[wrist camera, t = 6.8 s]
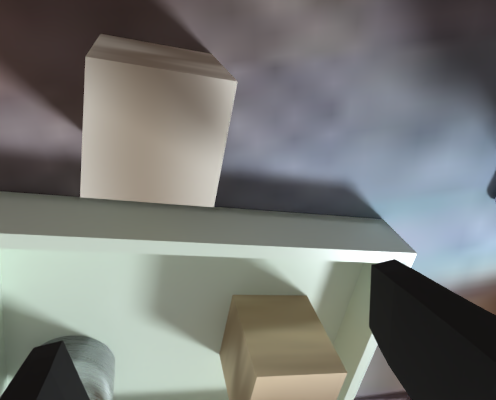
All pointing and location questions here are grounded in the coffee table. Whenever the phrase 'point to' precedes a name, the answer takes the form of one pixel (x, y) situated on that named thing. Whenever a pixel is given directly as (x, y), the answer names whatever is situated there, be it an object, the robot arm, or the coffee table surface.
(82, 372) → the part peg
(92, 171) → the part birch
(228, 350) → the part oak
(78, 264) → the tray
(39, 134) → the coffee table surface
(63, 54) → the coffee table surface
